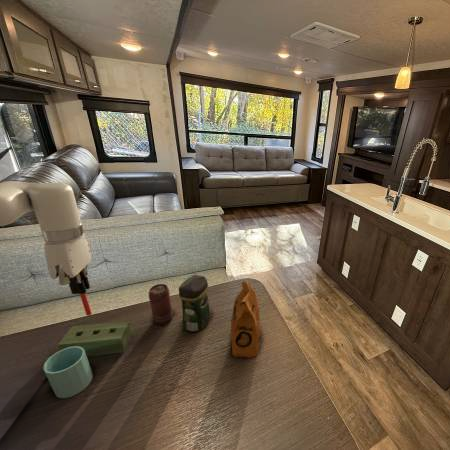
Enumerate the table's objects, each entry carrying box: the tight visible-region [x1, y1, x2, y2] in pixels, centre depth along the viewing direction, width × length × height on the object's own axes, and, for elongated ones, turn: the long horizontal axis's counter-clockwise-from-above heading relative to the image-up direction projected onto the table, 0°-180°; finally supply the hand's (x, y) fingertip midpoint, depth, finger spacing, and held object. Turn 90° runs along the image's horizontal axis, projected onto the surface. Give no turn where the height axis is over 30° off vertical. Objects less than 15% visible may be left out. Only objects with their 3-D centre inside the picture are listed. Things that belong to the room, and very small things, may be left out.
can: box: [148, 283, 174, 326], centre depth 87 cm, size 6×6×14 cm
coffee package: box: [230, 280, 262, 359], centre depth 80 cm, size 10×12×22 cm
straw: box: [74, 274, 92, 316], centre depth 70 cm, size 1×1×14 cm
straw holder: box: [57, 320, 134, 358], centre depth 77 cm, size 7×16×6 cm, turn 103°
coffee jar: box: [178, 274, 212, 332], centre depth 87 cm, size 10×8×19 cm
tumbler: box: [42, 346, 94, 399], centre depth 65 cm, size 8×8×10 cm
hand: (81, 290), depth 69 cm, fingers closed on straw, 1 cm apart
